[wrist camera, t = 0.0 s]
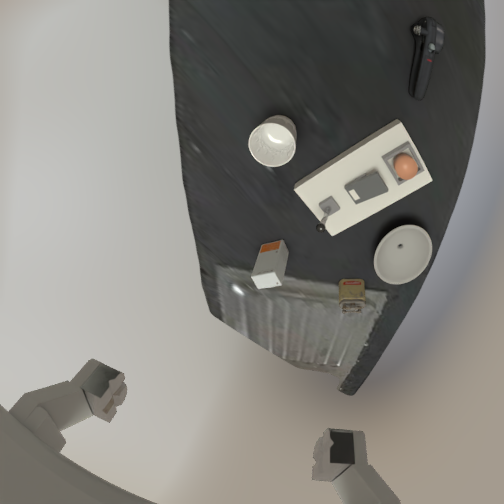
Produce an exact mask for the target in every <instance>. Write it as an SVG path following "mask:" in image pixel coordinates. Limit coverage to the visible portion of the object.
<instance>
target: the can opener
mask: <svg viewBox="0 0 504 504" xmlns="http://www.w3.org/2000/svg"><path fill="white" fill-rule="evenodd" d="M411 31H412V34H413V36H414V38H415V40H416V53H415V58H414V62H413V67H412V72H411V78H410V85H409V93H410V95H411V96H412V97H415V98H416V99H417V100H422V99H423V98H424V96H425V93H426V90H427V87H428V84H429V80H430V76H431V72H432V67H433V62H434V55H435V54H439V53H440V52H441V50H442V48H443V45H444V37H445V34H444V28H443V26H442V25H440V24H439V23H437V22H436V21H435V20H434V19H433V18H431V17H425V18H422V19H421V20H420V21H419V22H418V23H415V24H414V25H413V26H412V29H411Z"/></svg>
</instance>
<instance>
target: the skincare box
mask: <svg viewBox="0 0 504 504" xmlns="http://www.w3.org/2000/svg"><path fill="white" fill-rule="evenodd" d="M288 254H289V251H288V249H287V247H286V245H285V243H284V240H283V239H282V240H279V241H275V242H271V243H266V244H262V245H261V248H260V251H259V254H258V257H257V260H256V263H255V266H254V269H253V272H252V275H251V278H252V279H253V281H254V283H255V284H256V286H257V288H258V289H262V288H270V287H274V286H280V285H282V282H283V278H284V273H285V268H286V264H287V259H288Z"/></svg>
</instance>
